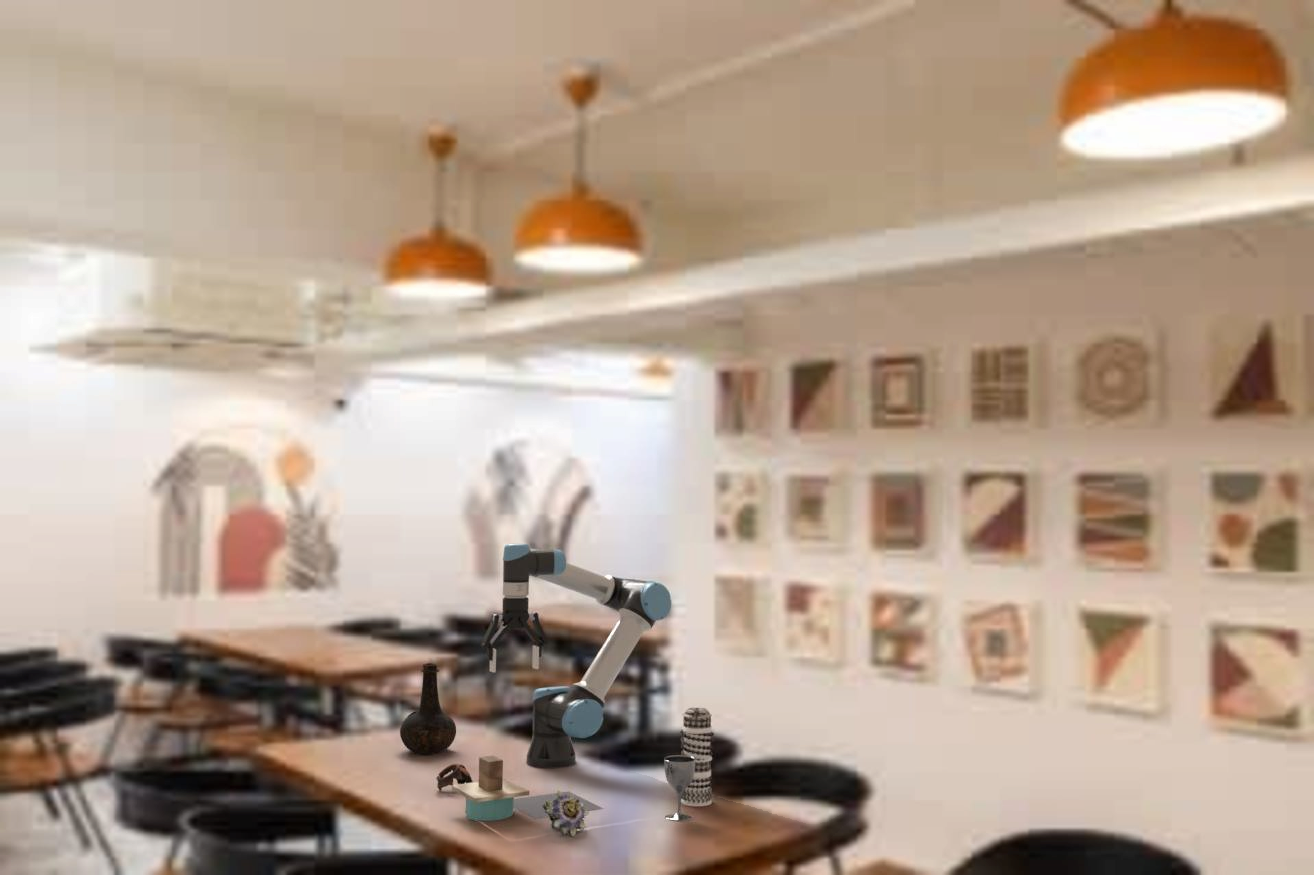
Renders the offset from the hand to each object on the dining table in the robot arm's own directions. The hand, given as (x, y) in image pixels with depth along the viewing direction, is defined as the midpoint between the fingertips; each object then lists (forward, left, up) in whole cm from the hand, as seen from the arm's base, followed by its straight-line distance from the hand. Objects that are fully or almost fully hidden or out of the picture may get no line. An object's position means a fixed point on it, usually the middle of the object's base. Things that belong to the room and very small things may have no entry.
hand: (514, 670), depth 334 cm
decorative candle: (-34, +45, -32) cm, 65 cm away
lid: (+20, +30, -26) cm, 44 cm away
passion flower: (+10, +52, -32) cm, 62 cm away
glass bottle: (+8, -47, -32) cm, 57 cm away
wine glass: (-22, +55, -32) cm, 67 cm away
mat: (+2, +30, -32) cm, 44 cm away
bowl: (+20, +30, -32) cm, 48 cm away
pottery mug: (+18, +2, -32) cm, 37 cm away
